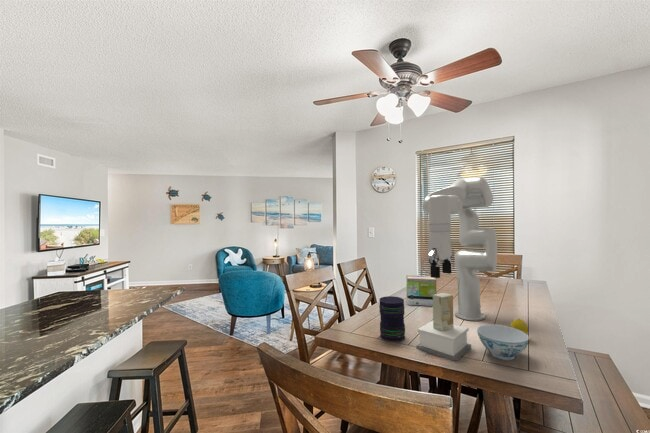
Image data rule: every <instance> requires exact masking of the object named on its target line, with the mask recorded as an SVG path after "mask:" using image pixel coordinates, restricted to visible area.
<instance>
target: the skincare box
mask: <svg viewBox="0 0 650 433" xmlns="http://www.w3.org/2000/svg"><path fill="white" fill-rule="evenodd" d="M432 321H433V328H436V329H438V330H441V331H445V330H449V329H452V328H454V325H455V324H454V295H453V294H450V293H447V292H440V293H436V294H435V295H433V306H432Z"/></svg>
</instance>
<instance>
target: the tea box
mask: <svg viewBox="0 0 650 433" xmlns="http://www.w3.org/2000/svg"><path fill="white" fill-rule="evenodd" d="M435 294H437V278H433V277H431V275H417V274H416V275H411V274H410V275H409V274H406V302H407V305H408V306H424V307H425V306H426V307H427V306H428V307H433V295H435Z"/></svg>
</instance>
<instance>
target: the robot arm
mask: <svg viewBox="0 0 650 433" xmlns="http://www.w3.org/2000/svg"><path fill="white" fill-rule="evenodd" d="M493 201H494V196H493V192H492V190H491V187H490V185H489V182H488V181H487V180H486V179H485V178H484V177H480V176H475V177H465V178H458V179H456V180H455V181H453V182H452V183H451V184H450V185H449V186H447V187H444V188H441V189H438V190H435V191H433V192H430V193H429V194H427V195H426V196H425V197H424V199H423V201H422V211H423V212H424V213H425V214H426V215H428V243H427V244H428V245H427V258H428V262H429V266H430V276H431V277H433V278H435V279H440V278H441V272H442V273H443V274H448V275H450V274H452V257H453V255H452V254H453V250H452V241H451V240H452V239H451V234H450V233H452V221H451V220H452V217H451V216H452V215H458V218H459V232H458V241H459V244H460V245H461V247H463V248H464V247H465V248H480V249H481V248H482V249H485V250H479V249H460V250H458V251H456V253H455V254H454V264H455V269H456V276H457V278H456V279H457V305H458V306H457V308H458V309H457V310H456V311H455V312H454V316H455V318H456V317H457V318H458V319H461V320H464V321H471V322H480V321H483V320H485V315H484V313H482V312H481V311H482V310H481V308H482V306H481V280H480V278H479V276H478V274H476V271H478V272H488V273H491V272H495V270H496V269H497V266H498V236H497V235H498V234H497V232H496V230H495V229H494V228H492V227H480V217H479V215H478V214H477V213H476V212H475V211H474V210H473V209H477V208H489V207H490V206H492V204H493ZM441 262H442V263H441ZM440 263H441V265H442V266H439V265H440ZM441 268H442V270H441Z"/></svg>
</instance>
